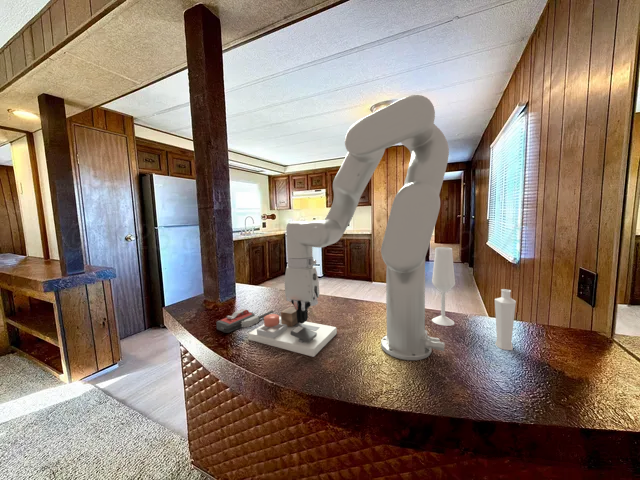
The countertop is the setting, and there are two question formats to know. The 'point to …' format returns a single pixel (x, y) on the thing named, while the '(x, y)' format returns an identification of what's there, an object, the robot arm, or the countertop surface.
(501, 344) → the perfume bottle
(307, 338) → the rocker switch
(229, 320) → the gray red lever tool
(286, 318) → the slider knob
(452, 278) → the champagne flute
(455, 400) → the countertop surface
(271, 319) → the push button
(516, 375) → the countertop surface
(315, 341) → the control panel
